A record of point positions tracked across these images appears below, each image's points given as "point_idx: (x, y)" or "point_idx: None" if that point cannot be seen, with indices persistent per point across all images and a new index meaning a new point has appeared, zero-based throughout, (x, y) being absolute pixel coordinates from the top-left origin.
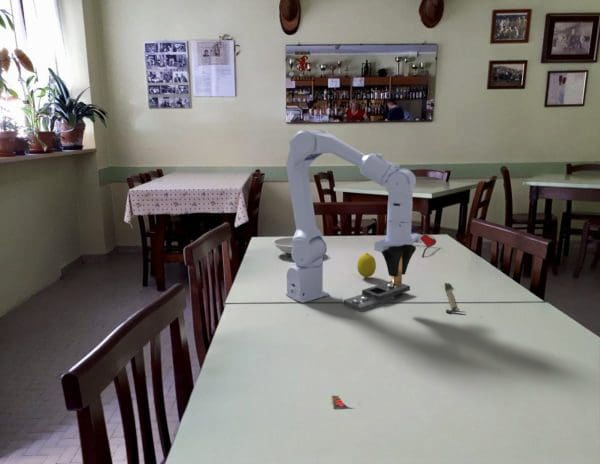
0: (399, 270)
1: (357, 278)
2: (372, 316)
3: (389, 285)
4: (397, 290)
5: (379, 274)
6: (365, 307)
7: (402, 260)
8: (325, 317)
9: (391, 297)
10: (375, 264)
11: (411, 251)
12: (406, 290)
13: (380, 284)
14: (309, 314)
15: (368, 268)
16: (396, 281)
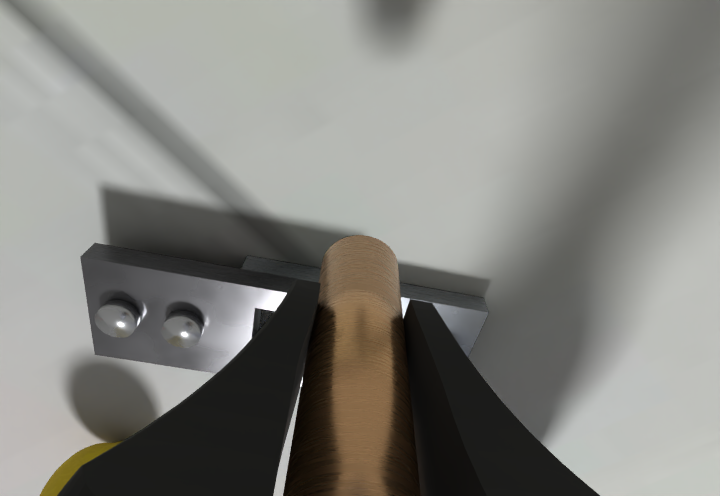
0: (387, 330)
1: None
2: (504, 231)
3: (196, 332)
4: (199, 277)
5: (32, 430)
6: (448, 298)
7: (342, 409)
8: (616, 360)
9: (257, 268)
10: (56, 489)
11: (226, 479)
12: (123, 252)
13: (200, 370)
14: (614, 408)
15: None
16: (395, 276)
